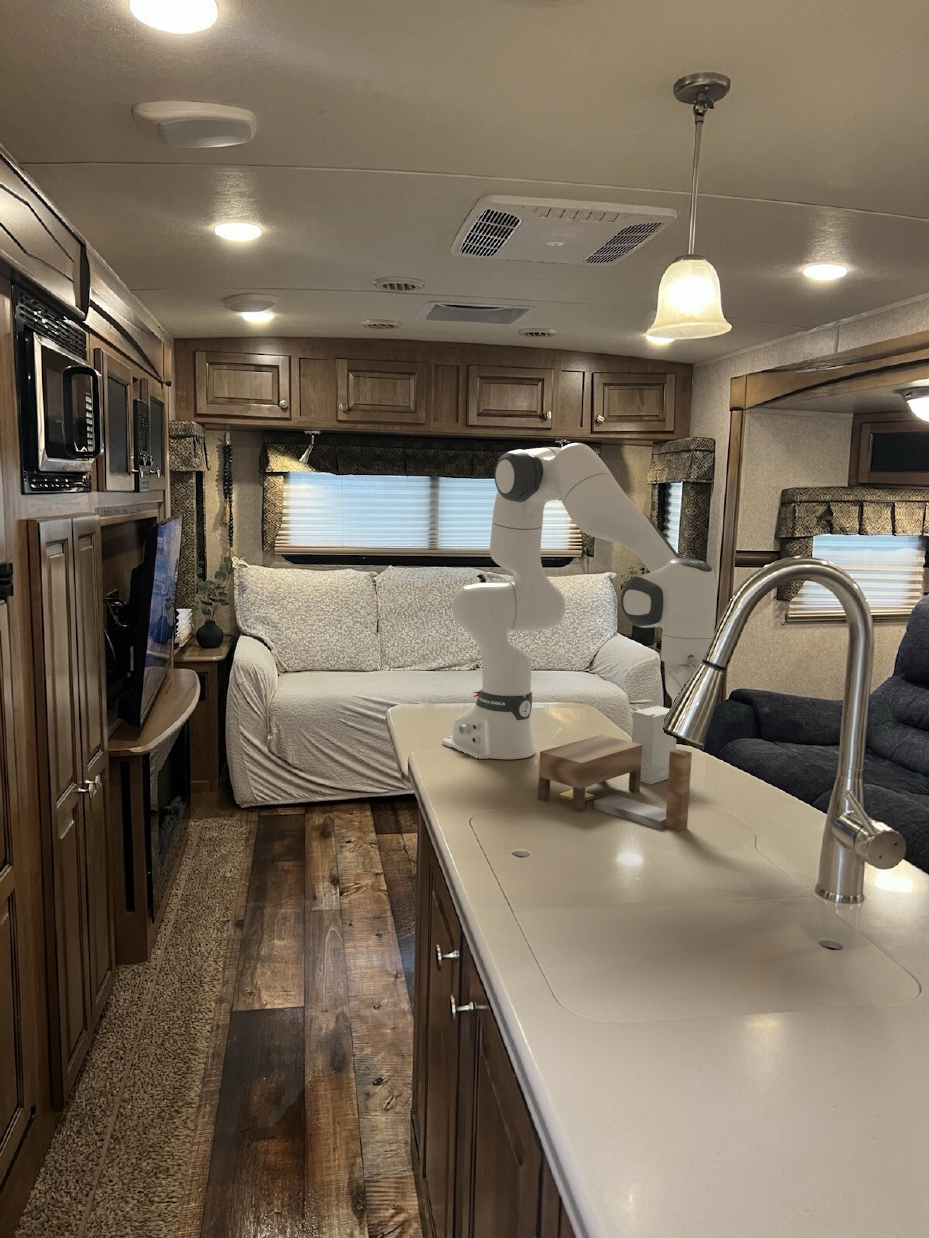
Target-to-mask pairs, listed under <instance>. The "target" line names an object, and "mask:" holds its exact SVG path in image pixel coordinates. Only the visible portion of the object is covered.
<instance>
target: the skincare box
mask: <svg viewBox="0 0 929 1238" xmlns="http://www.w3.org/2000/svg"><path fill="white" fill-rule="evenodd" d="M670 709H671V708H667V707H664V706H661V705H654V706H650V707H645V708H642V709H639V710H633V712H632V730H631V731H632V732H631V742H633V743H637V744H641V745H642V759H641V777H640V783H641V782H642V783H644V784H647V785H653V784H656V783H659V782H663V781H666V780H668V774H669V757H670V751H672V750H675V749H677V739H676V738H674V737H673V736H670V735H667V734H666V733H664V730H663V726H664V719H665V717H666V715H667V713H668V712H669V710H670Z"/></svg>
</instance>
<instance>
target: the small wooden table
mask: <svg viewBox="0 0 929 1238" xmlns="http://www.w3.org/2000/svg"><path fill="white" fill-rule="evenodd" d="M641 759H642V745H641V744H637V743H633V742H632V741H629V740H624V739H619V738H616V737H611V736H608V735H604V734H601V735H597V736H592V737H589V738H585V739H581V740H578V741H573V742H570V743H567V744H563V745H560V746H556V747H555V746H554V747H551V748H547V749H544V750H541V751H539V762H538V763H539V764H538V767H539V768H538V771H539V772H538V789H537V800H540V801H543V802H546V801H549V800H551V782H556V783H558V784H562V785H564V786H569V787H572V789H573V801H572V808H571V810H572V811H574V812H577V813H581V812H584V811H585V804H586V801H585V792H586V788H588V787H591V786H594V785H597V784H599V783H600V784H601V783H604V782H605V781H609V780H611V779H614V778H617V777H621V776H624V775H627V774H629V775H628V776H629V778H628V791H630V792H632V793H636V792H640V791H641V781H640V777H641Z"/></svg>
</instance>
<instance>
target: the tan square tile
mask: <svg viewBox="0 0 929 1238" xmlns="http://www.w3.org/2000/svg"><path fill="white" fill-rule="evenodd" d="M558 797H559V798H561V799H566V800H569V801H572V802H573V788H572V789H570V790H567V791H563V792H561V793H558ZM593 798H595V794H592V793H589V792H586V791H585V802H586V801H588V800H590V799H593Z"/></svg>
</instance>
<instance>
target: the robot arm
mask: <svg viewBox="0 0 929 1238" xmlns="http://www.w3.org/2000/svg"><path fill="white" fill-rule="evenodd" d="M494 468H495V469H494V475H493V476H494V483H495V487H496V490H497V492H496V497H495V500H494V505H493V510H492V511H493V512H492V519H491V521H492V522H491V529H490V530H491V533H490V544H489V555H490V557H491V559H492V560H493V562H494V563H495V564H497V565H498V566H500V567H501V568H503V569H504V570H506V571H508V572H510V573H512V581H510V582H477V583H473V584H472V583H471V584H468V585H467V584H466V585H464V586H463V585H462V586H461V587H460V588H459V589H458V591H457V592H456V593H455V596H454V597H453V601H452V613H453V616H454V618H455V621H456V622H457V624H458V626H460V627H461V628H462V629H463V630H465V631H466V632H467V633H468V634H469V635H470V637H472V639H473V640H474V642H475V643H476V645H477V647H478V650H479V653H480V654H479V655H480V656H481V657H480V658H481V667H482V668H481V670H482V686H481V689H480V690H478V691H473V692H472V693H473V696H472V697H474V698H477V699H476V701H475V705H473V706H472V707H470V708H469V709H468V710H466V711H464V713H462V714H460V715H459V716H458V717H457V718H456V720H455V721H454V724H453V730H452V735H448V736H446V737H445V738H443V739H442V745H444V746H446V747H448V748H451V747H453V748H455V749H459V750H461V751H463V752H464V753H463V754H465V753H468V754H469V755H471V756H470V757H472V756H474V757H475V758H474V757H473V758H474V759H477V758H479V759H478V760H480V759H481V760H484V759H489V758H490V759H493V760H495V759H496V760H518V759H526V758H529V757H532V756H534V755H535V754H536V748H535V745H534V740H533V732H532V721H531V720H532V719H531V714H532V707H533V692H532V687H531V686H532V661H531V658H530V656H529V654H528V653H527V652H526V651H524V650H523V649H521V648H520V647H518V646H516V645H514V644H511V643H510V642H509V639H508V633H509V632H541V631H545V630H549V629H554V628H556V627H558V626H559V625H560V624H561V622H562V620H563V619H564V616H565V613H566V602H565V597H564V595H563V593H562V592H561V591H560V589H559V588H558V587H557V586H556V585H555V584H553V583H552V582H551V581H550V579H549V578H548V576H547V575H546V573H545V570H544V568H543V564H542V557H541V552H542V551H541V547H542V533H543V522H544V510H545V505H546V504H547V502H550V501H561V503H562V505H563V508H565V511H566V512H567V514H568V515H569V517H570V519H571V521H572V522H573V523H574V524H575V525H576V527H578V528H579V530H580V531H581V532H582V533H584V534H586V535H588V536H591V537H592V538H598V539H600V540H603V541H609V542H611V543H615V544H616V545H617V544H618V545H620V546H623V547H625V548H626V549H628V550H630V551H631V552H633V553H634V554H636V556H637V557H639V559H640V560H641V562H642V563H643V564H644V565H645V567H646V568H647V570H648V571H649V572H647V573H644V574H641V575H637V576H633V577H631V578H629V579H628V580H627V581H626V583H625V584H624V586H623V587H622V590H621V592H620V599H619V601H620V602H619V604H620V609H621V613H622V615H623V617H624V619H625V620H626V621H627V622H628V623H629V624H631V625H632V626H634V627H639V628H647V629H648V628H662V630H661V631H662V632H661V649H660V650H661V651H660V660H661V661H662V662H664V685H665V690H666V693H667V694H668V696H670V698H671V706H672V705H673V703H674V700H675V698H676V697H677V696H678V693H679V692H680V691H681V689H682V688H683V687H684V684H686V683H687V681H688V680H689V679H690V678H691V676H692V674H694V673H695V671H696V669H697V668H698V665H699V664H701V662H702V659H703V658H704V656H705V654H706V651H707V650H708V647H709V644H710V643H711V641H712V638H713V637H714V638H715V632H714V627H713V620H714V618H715V615H716V606H717V582H716V575H715V570H714V568H713V567H712V566H711V565H710V564H709V563H707V562H706V561H702V560H700V559H695V558H688V557H681V556H680V555H679V553H678V552H677V551H676V549H674V547H673V546H672V544H670V542H669V540H668V539H667V538H666V536H665V535H664V534H663V533H662V532H661V530H660V529H659V528H658V526H657V525H656V524H655V523H654V522H653V520H651V518H650V517H648V515H646V513H645V512H644V511H642V510H641V509H640V508H639V507H638V506H637V505H636V504H635V503H634V502H633V501H632V500H631V499H630V498H629V496H628V495H627V494H626V493H625V491H624V490H623V489H622V487H621V486H620V484H619V483H618V481H616V478H615V477H614V475H613V474H612V472H611V470H610V469H609V467H608V466H607V465H606V464H605V462H604V461H603V460H602V458H600V456H599V455H598V454H597V453H596V452H595V451H594V450H593V448H591V447H590V446H588V445H587V444H585V443H581V442H573V443H568V444H567V445H565V446H563V447H558V446H557V447H555V446H554V447H553V446H550V447H549V446H543V447H540V448H539V447H536V448H529V449H515V450H511V451H507V452H505V453H503V454H502V455H501V456H500V457H499V458H498V459H497V463H496V465H495V467H494ZM453 748H452V749H453ZM455 749H454V750H455ZM469 755H468V756H469Z"/></svg>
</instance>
